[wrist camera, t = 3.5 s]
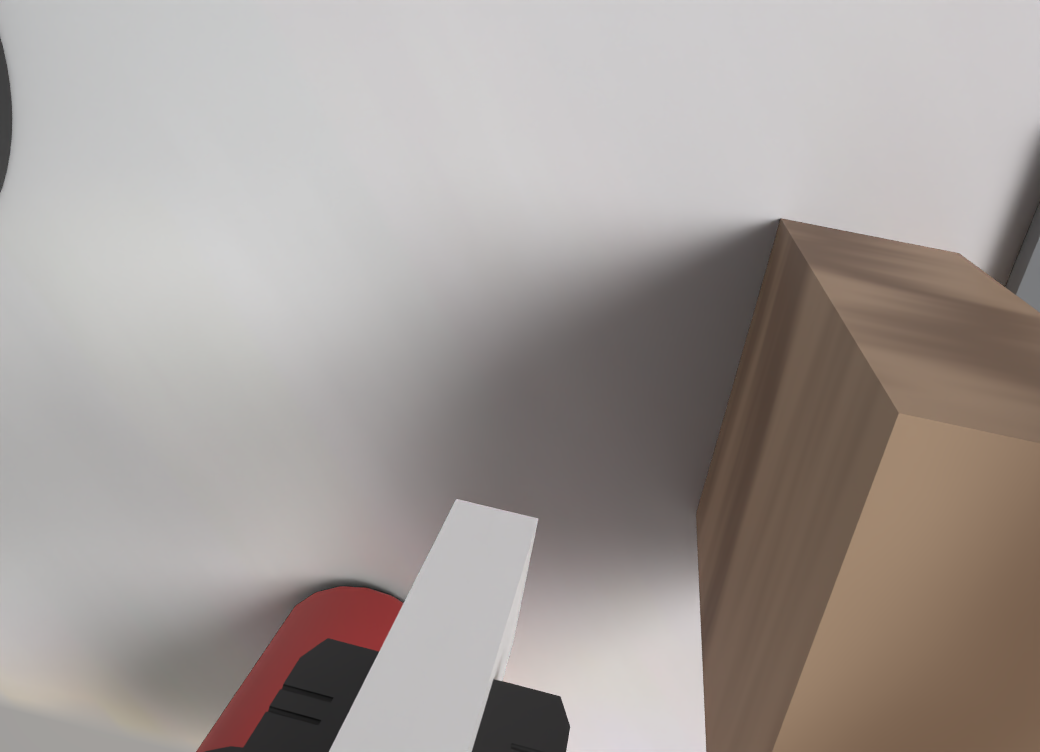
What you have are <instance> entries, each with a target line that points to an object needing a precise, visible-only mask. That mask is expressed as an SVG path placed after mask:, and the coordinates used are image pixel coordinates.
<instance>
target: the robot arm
mask: <svg viewBox="0 0 1040 752" xmlns="http://www.w3.org/2000/svg"><path fill="white" fill-rule="evenodd" d="M11 135H12V104H11V92H10V83H9V76H8V70H7V64H6V60H5V55H4V51H3V46H2V42H1V39H0V192H1V189H2V186H3V182H4V179H5V175H6V171H7V166H8V160H9V155H10V146H11ZM537 524H538V518H534V517H530V516H526V515H522V514H517V513H513V512H509V511H505V510H501V509H497V508H492V507H488V506H484V505H480V504H476V503H472V502H467V501H463V500H459V499H456V500H455V502H454V504H453V506H452V508H451V510H450V512H449V514H448V516H447V518H446V520H445V522H444V524H443V526H442V528H441V530H440V532H439V534H438V536H437V538H436V540H435V542H434V544H433V546H432V548H431V550H430V552H429V554H428V556H427V558H426V560H425V562H424V564H423V566H422V568H421V570H420V572H419V574H418V576H417V578H416V580H415V582H414V584H413V586H412V588H411V590H410V592H409V594H408V596H407V598H406V600H405V601H404V603H403V605H402V607H401V609H400V611H399V613H398V615H397V617H396V619H395V621H394V623H393V625H392V627H391V629H390V631H389V633H388V635H387V637H386V639H385V641H384V643H383V645H382V647H381V649H380V651H376V650H372V649H368V648H364V647H360V646H356V645H353V644H349V643H345V642H341V641H337V640H334V639H330V638H327V639H325V640H324V641H323V642H321V643H320V644H318V645H317V646H316V647H314V648H313V649H311V650H310V651H308V652H307V653H306V654H304V655H303V656H301V657H300V658H299V660H298V661H297V663H296V665H295V666H294V668H293V669H292V671H291V672H290V674H289V676H288V677H287V679H286V680H285V682H284V684H283V687H282V689H280V690H279V692H278V693H277V695H276V696H275V698H274V699H273V701H272V703H271V704H270V706H269V710H268V712H265V714H264V715H263V717H262V719H261V720H260V722H259V723H258V725H257V726H256V728H255V730H254V731H253V733H252V734H251V736H250V738H249V739H248V741H247V742H246V744H245V745H244V747H234V746H229V747H224V748H218V749H213V750H208V751H205V752H566V748H567V742H568V736H569V730H570V725H569V722H568V719H567V716H566V712H565V709H564V706H563V703H562V700H561V697H560V696H557V695H553V694H549V693H545V692H541V691H538V690H534V689H530V688H526V687H522V686H518V685H515V684H511V683H507V682H503V677H504V674H505V670H506V667H507V663H508V660H509V656H510V653H511V649H512V646H513V642H514V637H515V632H516V627H517V622H518V617H519V613H520V608H521V603H522V598H523V593H524V588H525V583H526V578H527V573H528V568H529V563H530V558H531V553H532V548H533V543H534V539H535V534H536V529H537Z"/></svg>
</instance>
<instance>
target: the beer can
mask: <svg viewBox="0 0 1040 752" xmlns="http://www.w3.org/2000/svg"><path fill="white" fill-rule="evenodd" d="M402 605H403V602H401V601H400V600H398V599H397V598H395V597H394V596H391V595H388V594H385V593H382V592H379V591H376V590H373V589H370V588H365V587H346V586H339V587H335V588H331V589H327V590H323V591H319V592H316V593H314V594H312V595H311V596H309V597H308V598H306V599H305V600H303V601H302V602H300V603H299V604H297V605H296V606H295V607H294V608H293V610H292V611H291V613H290V614H289V616H288V617H287V619H286V620H285V622H284V623H283V625H282V626H281V627H280V629H279V630H278V632H277V633H276V635H275V636H274V638H273V639H272V641H271V642H270V644H269V645H268V647H267V648H266V650H265V651H264V653H263V654H262V655H261V657H260V658H259V660H258V661H257V663H256V664H255V666H254V667H253V669H252V670H251V672H250V673H249V675H248V676H247V678H246V679H245V681H244V682H243V683H242V685H241V686H240V688H239V689H238V691H237V692H236V694H235V695H234V697H233V698H232V700H231V701H230V703H229V704H228V706H227V707H226V708H225V710H224V711H223V713H222V714H221V716H220V717H219V719H218V720H217V722H216V723H215V725H214V726H213V728H212V729H211V731H210V732H209V734H208V735H207V736H206V738H205V739H204V741H203V742H202V744H201V745H200V747H199V748H198V750H197V751H196V752H205V751H208V750H213V749H218V748H224V747H229V746H234V747H244V745H245V744H246V742H247V741H248V739H249V738H250V736H251V734H252V733H253V731H254V730H255V728H256V726H257V725H258V723H259V722H260V720H261V719H262V717H263V715H264V714H265V712H268V710H269V706H270V704H271V703H272V701H273V699H274V698H275V696H276V695H277V693H278V692H279V690H280V689H282V687H283V684H284V682H285V680H286V679H287V677H288V676H289V674H290V672H291V671H292V669H293V668H294V666H295V665H296V663H297V661H298V660H299V658H300V657H301V656H303V655H304V654H306V653H307V652H308V651H310V650H311V649H313V648H314V647H316V646H317V645H318V644H320V643H321V642H323V641H324V640H325V639H327V638H330V639H334V640H337V641H341V642H345V643H349V644H353V645H356V646H360V647H364V648H368V649H372V650H376V651H380V649H381V647H382V645H383V643H384V641H385V639H386V637H387V635H388V633H389V631H390V629H391V627H392V625H393V623H394V621H395V619H396V617H397V615H398V613H399V611H400V609H401V607H402Z"/></svg>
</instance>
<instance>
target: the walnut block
mask: <svg viewBox="0 0 1040 752" xmlns="http://www.w3.org/2000/svg"><path fill="white" fill-rule="evenodd" d="M696 524H697V547H698V569H699V592H700V615H701V638H702V661H703V684H704V707H705V729H706V752H1040V312H1038V311H1037V310H1036V309H1034V308H1033V307H1031V306H1030V305H1029V304H1027V303H1026V302H1025V301H1023V300H1022V299H1021V298H1019V297H1018V296H1016V295H1015V294H1014V293H1012V292H1011V291H1010V290H1008V289H1007V288H1006V287H1004V286H1003V285H1001V284H1000V283H999V282H997V281H996V280H995V279H993V278H992V277H991V276H989V275H988V274H986V273H985V272H984V271H982V270H981V269H980V268H978V267H977V266H976V265H974V264H973V263H971V262H970V261H969V260H967V259H966V258H965V257H963V256H962V255H961V254H959V253H955V252H950V251H944V250H939V249H934V248H929V247H924V246H919V245H914V244H909V243H904V242H899V241H893V240H888V239H883V238H878V237H873V236H868V235H863V234H858V233H853V232H848V231H842V230H837V229H832V228H827V227H822V226H817V225H812V224H807V223H802V222H796V221H791V220H786V219H780V222H779V226H778V229H777V233H776V236H775V240H774V243H773V247H772V250H771V254H770V257H769V261H768V264H767V268H766V271H765V275H764V278H763V282H762V285H761V289H760V292H759V296H758V299H757V303H756V306H755V310H754V313H753V317H752V320H751V324H750V327H749V331H748V334H747V338H746V341H745V345H744V348H743V352H742V355H741V359H740V362H739V366H738V369H737V373H736V376H735V380H734V383H733V387H732V390H731V394H730V397H729V401H728V404H727V408H726V411H725V415H724V418H723V422H722V425H721V429H720V432H719V436H718V439H717V443H716V446H715V450H714V453H713V457H712V460H711V464H710V467H709V470H708V474H707V477H706V481H705V484H704V488H703V491H702V495H701V498H700V502H699V505H698V509H697V512H696Z"/></svg>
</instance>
